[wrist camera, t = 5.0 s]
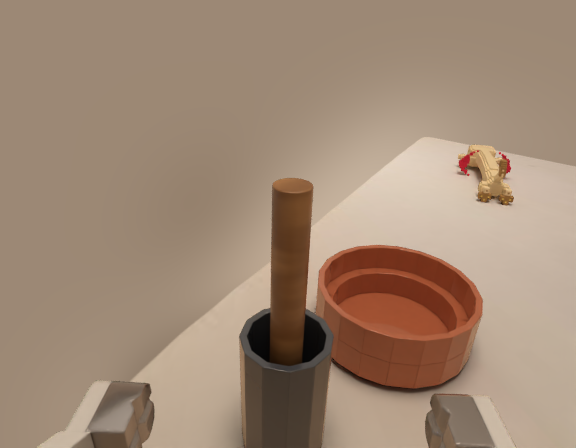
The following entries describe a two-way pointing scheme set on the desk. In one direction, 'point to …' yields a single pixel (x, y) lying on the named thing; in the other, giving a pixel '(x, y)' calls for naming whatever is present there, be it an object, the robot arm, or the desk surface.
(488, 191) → the cat figure
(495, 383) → the desk surface
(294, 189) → the stirring stick
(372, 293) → the bowl
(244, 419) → the utensil pot
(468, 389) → the desk surface
